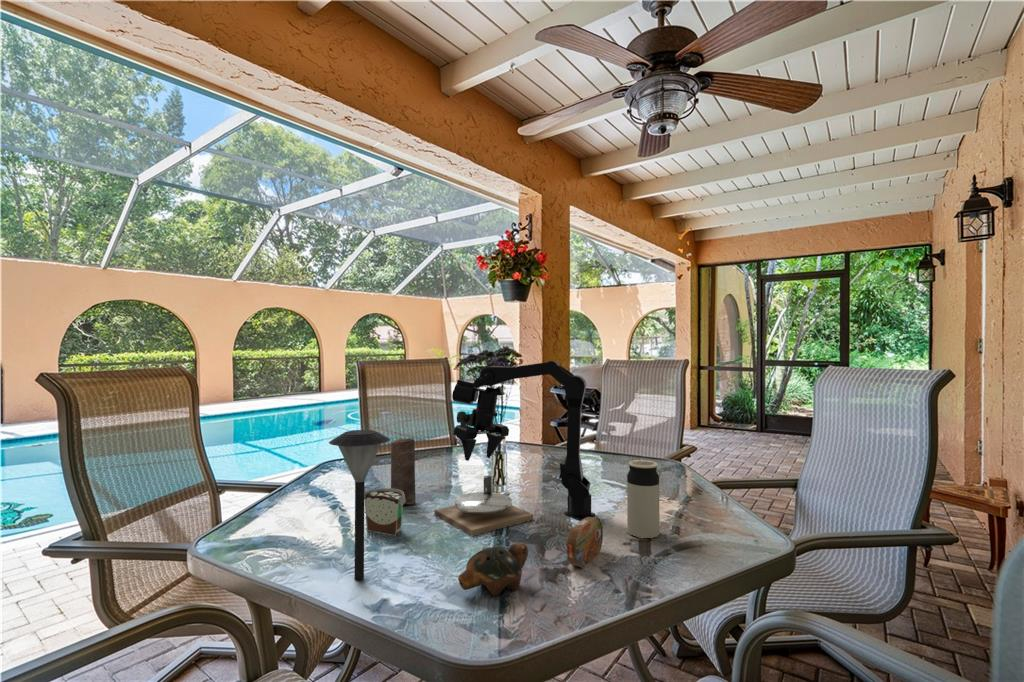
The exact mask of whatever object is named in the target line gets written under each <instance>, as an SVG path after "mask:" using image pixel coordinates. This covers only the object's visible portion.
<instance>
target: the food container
mask: <svg viewBox="0 0 1024 682" xmlns="http://www.w3.org/2000/svg"><path fill="white" fill-rule="evenodd" d="M405 502H406V499H405V495H404V492H403V491H401V490H398V489H391V487H390V488H384V487H383V488H374V489H368V490H366V491H365V490H364V511H365V522H366V531H367V530H369V531H368V532H371V531H374V532H373V533H376V532H379V533H378V534H381V533H384V534H383V535H386V534H388V535H387V536H391V535H394V536H393V537H397V536H399V535H400V534H401V527H402V517H403V509H404V505H405V504H404V503H405ZM399 533H400V534H399ZM398 534H399V535H398Z"/></svg>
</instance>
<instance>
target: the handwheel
mask: <svg viewBox="0 0 1024 682" xmlns="http://www.w3.org/2000/svg"><path fill="white" fill-rule="evenodd" d="M492 485H493V477H492V476H491V475H483V491H478V492H477V491H476V492H470V493H466V494H462V495H459V496H457V498H455V500H454V505H455V508H456V509H458V510H460V511H463V512H467V513H473V514H489V513H497V512H501V511H504V510H507V509H509V508H510V507H511V505H512V504H513V503H512V498H511V497H510V496H509V495H508V494H505V493H504V494H503V493H501V492H500V493H498V492H493V491H492V489H493V486H492ZM512 506H513V505H512Z"/></svg>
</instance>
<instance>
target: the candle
mask: <svg viewBox="0 0 1024 682" xmlns="http://www.w3.org/2000/svg"><path fill="white" fill-rule="evenodd" d="M415 449H416V448H415V438H411V437H409V438H406V437H403V438H402V437H401V438H397V439H396V440H393V441H391V442H390V488H391V489H398V490H401V491H403V492H404V495H405V499H406V502H405V503H404V504H403V505H415V504H416V464H415V463H416V459H415V457H416V456H415V455H416V453H415V452H416V451H415Z"/></svg>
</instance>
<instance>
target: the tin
mask: <svg viewBox="0 0 1024 682" xmlns="http://www.w3.org/2000/svg"><path fill="white" fill-rule="evenodd" d="M603 530H604V529H603V524H602V521H601V519H600V518H599V517H597V516H596V517H594V516H592V517H586V518H584V519H581V520H580V521H579V522H578V523H576V524H575V525H574V526H572V528H570V529H569V531H568V532H569V533H568V535H567V539H566V551H567V552H566V553H567V560H568V563H569V564H570V565H571V566H574V567H579V568H580V569H584V568H586V567H587V566H588V565H589V564H590V563H591V562H592V561H593V560H594V559H595V558H596V557H597V556H598V555H599V554H600V552H601V550H602V545H603V540H604V539H603V538H604V537H603V536H604V533H603V532H604V531H603ZM588 563H589V564H588ZM587 564H588V565H587ZM586 565H587V566H586ZM585 566H586V567H585Z"/></svg>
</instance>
